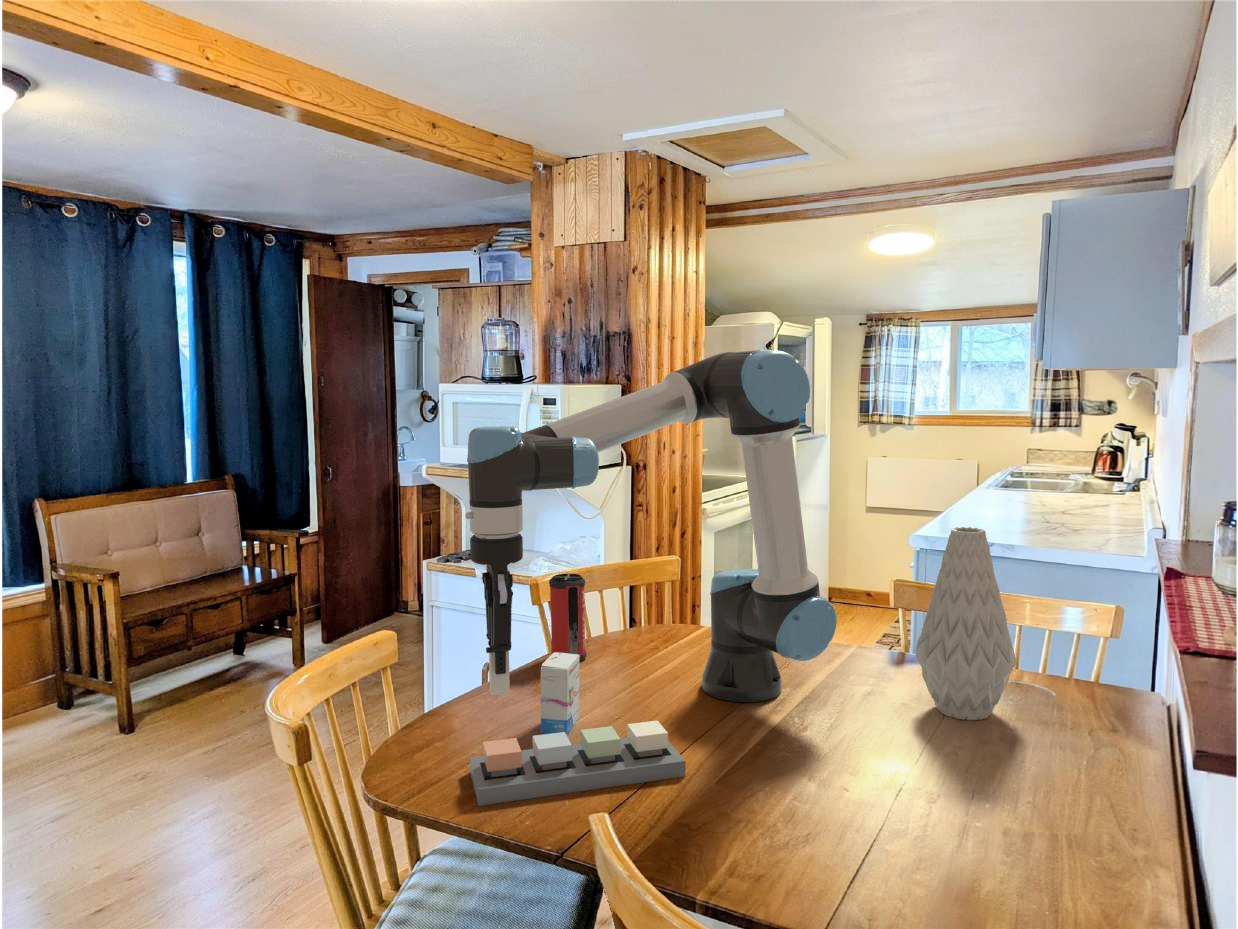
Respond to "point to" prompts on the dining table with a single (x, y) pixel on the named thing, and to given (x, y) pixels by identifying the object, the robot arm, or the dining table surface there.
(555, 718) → the ink box
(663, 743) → the key cream
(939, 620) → the vase
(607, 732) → the key sage
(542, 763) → the key bluegrey
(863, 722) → the dining table surface
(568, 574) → the speaker
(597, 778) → the keypad base
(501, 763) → the key terracotta
